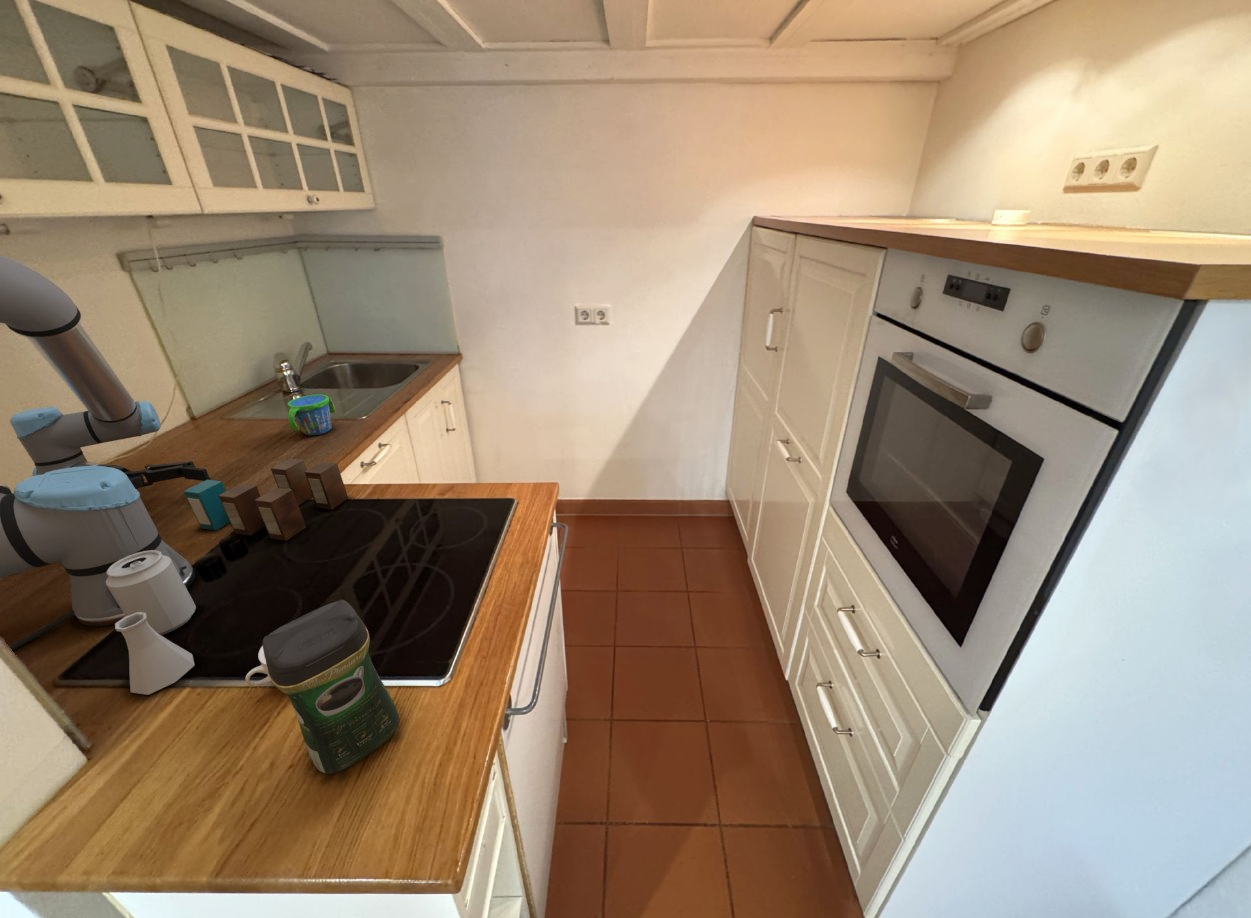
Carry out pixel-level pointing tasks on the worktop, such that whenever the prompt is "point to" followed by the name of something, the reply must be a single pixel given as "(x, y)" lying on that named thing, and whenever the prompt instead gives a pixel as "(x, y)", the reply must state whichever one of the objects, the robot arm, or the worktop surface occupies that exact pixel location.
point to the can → (151, 590)
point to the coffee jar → (332, 685)
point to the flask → (151, 656)
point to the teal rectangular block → (208, 504)
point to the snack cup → (311, 414)
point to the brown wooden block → (280, 513)
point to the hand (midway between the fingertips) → (175, 490)
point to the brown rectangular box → (293, 478)
